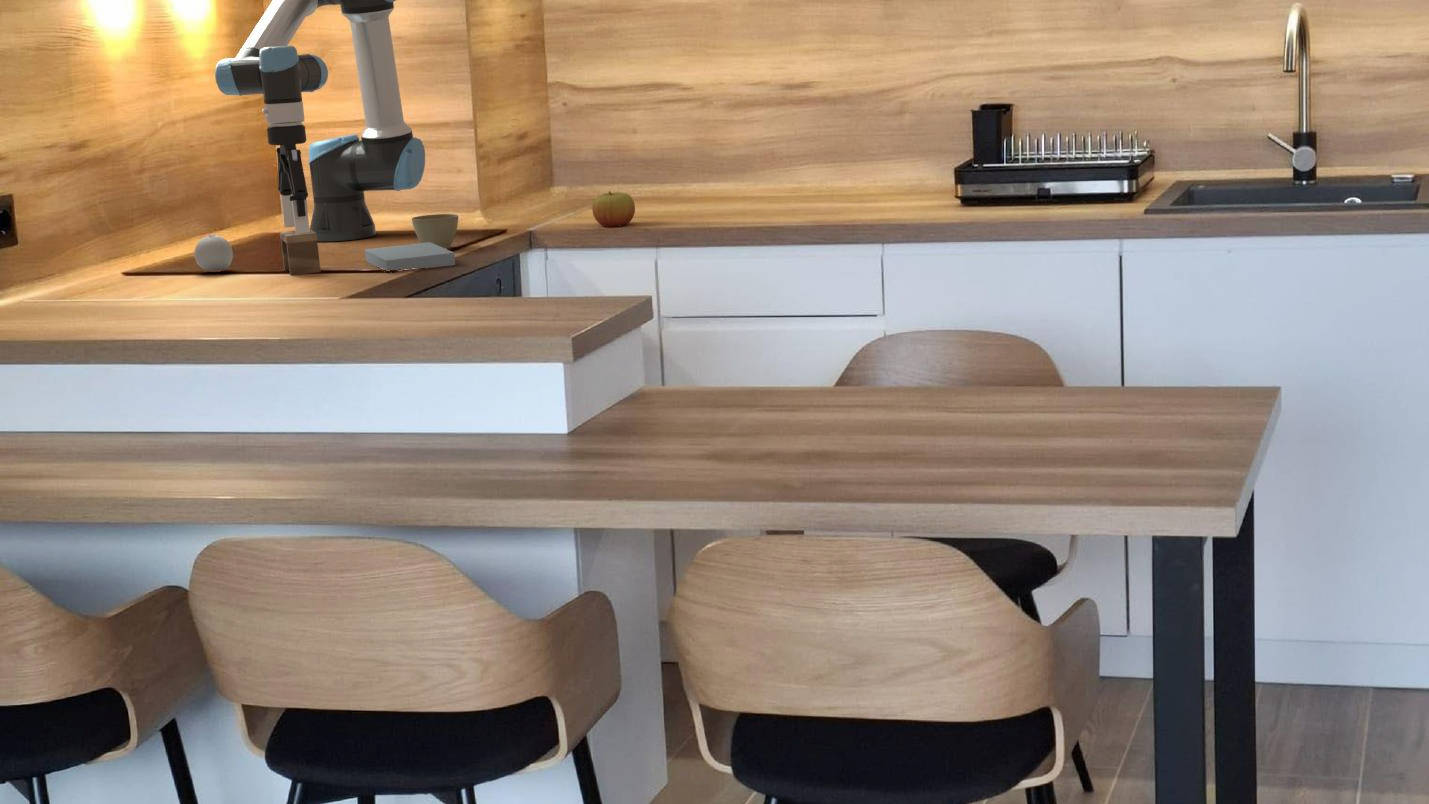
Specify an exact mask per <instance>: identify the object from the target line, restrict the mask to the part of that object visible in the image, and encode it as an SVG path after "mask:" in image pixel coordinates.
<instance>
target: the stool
mask: <svg viewBox="0 0 1429 804" xmlns="http://www.w3.org/2000/svg"><path fill="white" fill-rule="evenodd" d="M309 230H310V228H309ZM279 237H280V244H281V254H282V255H281V256H282V262H283V263H282V264H283V271H284V270H285V271H284V272H287V271H286V270H289V271H288V272H289V275H290V276H297V274H299V275H307V274H313V273H314V274H317V273H321V271H322V270H321V264H320V263H321V262H320V254H319V246H318V241H317V235H316V232H314V231H312V230H310V232H307V233H297V234H296V233H295V230H288V231H287V230H286V231H279Z"/></svg>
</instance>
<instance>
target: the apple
mask: <svg viewBox="0 0 1429 804" xmlns="http://www.w3.org/2000/svg"><path fill="white" fill-rule="evenodd" d="M635 205H636V204H635V201H634V199H633V198H632V196H631V195H630V194H628V193H625V192H618V191H617V192H611V191H610V190H609V191H608V192H607V193H603V194H602V193H601V194H600V195H598V196H597V197H596V198H595V199H594V200H593V202H592V205H591V206H592V207H591V209H592V215H593V217H594V219H595V221H596V222H597V223H598V224H599V225H601V226H602V227H605V226H608V227H607V228H610V227H609V226H618V227H620V226H619V225H624V226H626V224H627V225H628V224H629V223H631V221H632V220H633V218H634V215H635V213H636V206H635Z"/></svg>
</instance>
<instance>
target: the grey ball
mask: <svg viewBox="0 0 1429 804" xmlns="http://www.w3.org/2000/svg"><path fill="white" fill-rule="evenodd" d="M233 253H234V252H233V248H232V245H231V243H230V242H229V241H228V240H227V239H225V238H224V237H222V236H220V235H217V234H208V235H207V236H205V237H203V238H201V239H200V240H199V241H198V242H197V244H196V245H195V247H194V253H193V255H194V259H195V262H196V263H197V265H198V266H199V267H200V268H201V269H202V270H204V271H205V270H211V271H213V270H214V271H218V270H224V271H225V270H227V269H228V267H229V266H230V265H231V263H232V261H233V258H234V254H233Z"/></svg>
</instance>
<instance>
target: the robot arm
mask: <svg viewBox="0 0 1429 804" xmlns="http://www.w3.org/2000/svg"><path fill="white" fill-rule="evenodd" d="M395 2H397V0H272V1H271V2H270V4H269V6H268V7H267V9H266V11H265V12H264V14H263V15H262V17H261V18H260V20H259V21H258V23H257V24H256V25H255V27H254V29H253V30H252V32H251V33H250V35H249V37H247V40H246V41H245V43H244V44H243V46H242V47H241V48H240V50H239V52H238V53H237V55H236V57H234V58H232V57H228V58H223V59H221V60H219V61H218V62H217V64H216V66H215V71H214V77H215V83H216V84H217V88H218V89H219V91H220V92H221V93H222V94H224V95H225V96H240V97H242V96H248V95H249V96H250V95H253V96H254V95H263V104H264V108H262V110H261V112H262V114H263V115H265V122H266V123H267V124H268V125H269V126H267V128H266V134H267V142H268V144H269V146H273V147H274V146H279V147H276V150H275V151H276V155H277V183H278V185H277V190H278V192H279V194H280V202H281V211H282V218H283V219H282V220H283V221H282V222H283V227H284V228H286V229H287V228H294V231H295V233H296V234H297V233H307V232H310V230H312V231H314V232H316V235H317V242H343V241H352V240H359V239H360V240H361V239H365V238H371V237H375V235H377V231H376V230H377V229H376V225H375V221H374V220H373V218H372V216H371V213H370V209H368V206H367V204H366V200H365V199H366V198H365V192H378V191H379V192H381V191H395V192H400V191H404V190H412V189H415V188H416V187H417V186H418V185H419V184H420V183H421V180H422V178H423V175H424V171H425V167H426V152H425V151H426V150H425V146H424V144H423V141H422V140H421V139H420V138H418V137H415V136H414V134H413V128H412V127H411V126H409V125H408V124H407V123H405V120H404V113H403V108H402V107H403V106H402V100H401V99H402V98H401V92H400V85H399V79H398V73H397V66H396V59H395V52H394V44H393V39H392V31H391V30H392V29H391V25H390V18H389V17H390V15H391V13H392V12H393V11H394V9H395V5H394V3H395ZM332 5H333V6H336V5H337V6H338V5H340V6H339V7H340V10H341V15H342V16H344V17H345V18H346V19H347V20H348V21H349V26H350V29H351V37H352V44H353V48H354V49H353V51H354V55H355V64H356V69H357V77H358V82H359V83H358V84H359V89H360V95H361V100H362V101H361V103H362V108H363V114H364V122H365V129H363V131H362V133H361V134H360V137H359V135H358V134H349V135H344V136H343V135H342V136H338V137H334V138H333V137H332V138H328V139H323V140H319V141H318V140H317V141H315V142H312V143H311V144H309V146H308V165H309V173H310V182H311V188H312V197H313V210H312V211H313V212H312V215H311V216H312V217H311V219H310V220H309V213H308V212H309V211H308V203H307V201H308V200H307V198H308V197H309V192H308V187H307V183H306V177H305V172H304V167H303V162H302V161H303V160H302V152H301V150H300V149H297V145H300V144H305V143H307V134H306V133H307V132H306V125H304V124H303V122H304V121H305V112H304V109H305V108H304V102H303V96H302V93H308V92H309V93H313V92H315V91H318V90H320V89H322V88H323V87H324V86H325V85H326V83H327V81H328V78H329V77H328V76H329V71H328V70H329V69H328V67H327V64H326V63H325V61H324V60H323V58H321V57H319V56H318V55H315V54H310V53H307V54H306V53H304V54H298V50H297V49H296V47H295V46H293V45H289V44H290V42H291V41H292V40H293V38H294V37H295V34H296V33H297V31H298V29H299V28H300V27H301V25H302V23H303V22H304V21H305V18H306V17H309V16H311V15H313V14H314V13H315V12H316V10H317V9H318V8H321V7H324V6H332ZM360 139H361V140H360ZM309 229H310V230H309Z"/></svg>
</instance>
